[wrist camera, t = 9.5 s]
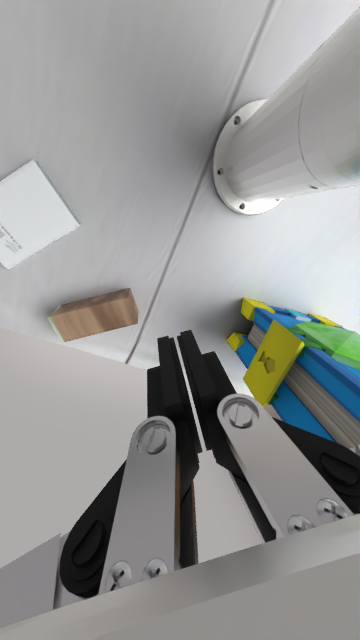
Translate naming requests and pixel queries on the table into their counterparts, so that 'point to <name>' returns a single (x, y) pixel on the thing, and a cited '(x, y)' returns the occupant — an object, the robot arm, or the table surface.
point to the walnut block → (94, 315)
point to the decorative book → (303, 370)
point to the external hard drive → (31, 214)
